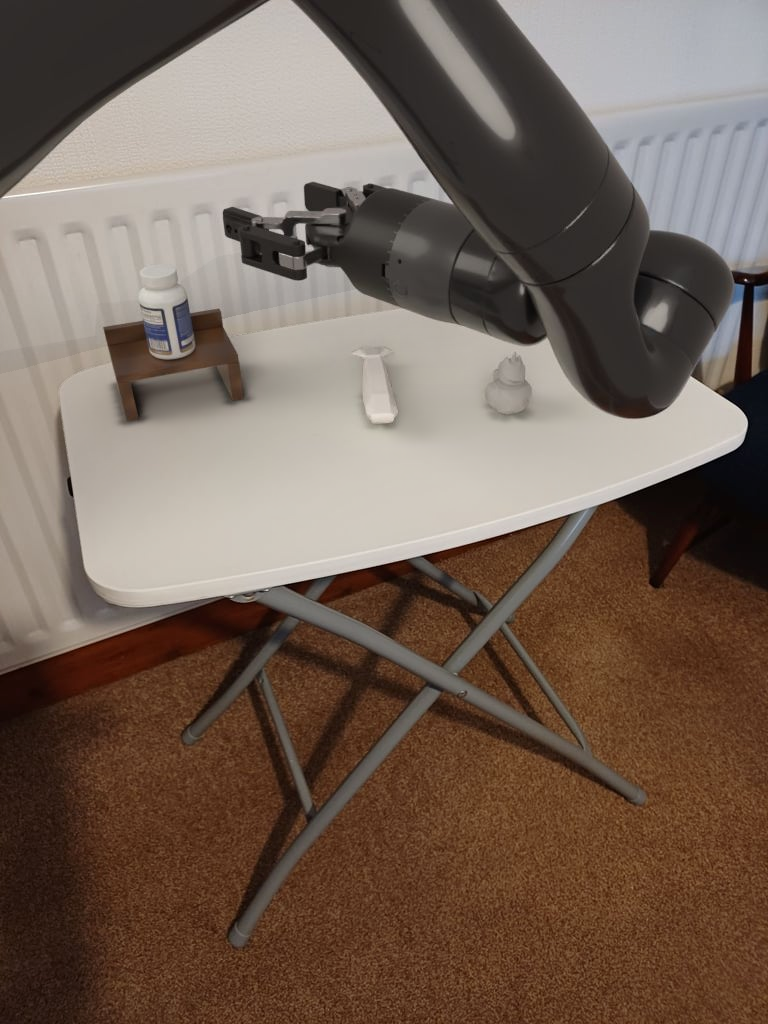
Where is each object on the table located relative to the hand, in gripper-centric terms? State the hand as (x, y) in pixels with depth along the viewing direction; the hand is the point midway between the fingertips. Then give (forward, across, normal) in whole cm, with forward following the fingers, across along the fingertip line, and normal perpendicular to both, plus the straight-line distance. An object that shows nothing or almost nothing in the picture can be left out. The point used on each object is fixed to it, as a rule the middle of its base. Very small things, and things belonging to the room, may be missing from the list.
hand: (268, 207), depth 63 cm
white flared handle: (+6, -20, +29) cm, 36 cm away
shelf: (+26, -5, +29) cm, 39 cm away
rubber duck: (-7, -29, +29) cm, 41 cm away
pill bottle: (+25, -5, +23) cm, 35 cm away
